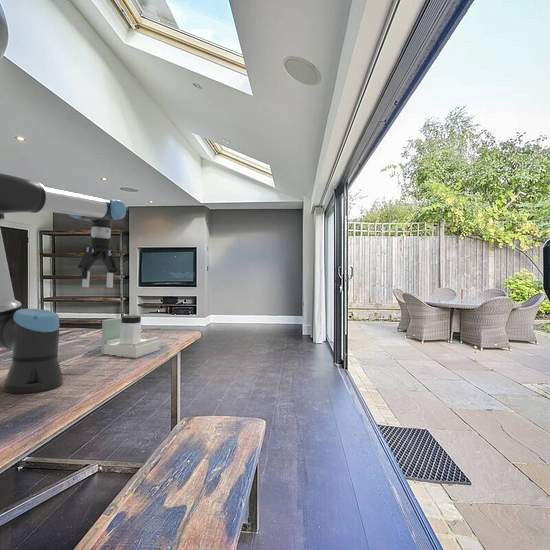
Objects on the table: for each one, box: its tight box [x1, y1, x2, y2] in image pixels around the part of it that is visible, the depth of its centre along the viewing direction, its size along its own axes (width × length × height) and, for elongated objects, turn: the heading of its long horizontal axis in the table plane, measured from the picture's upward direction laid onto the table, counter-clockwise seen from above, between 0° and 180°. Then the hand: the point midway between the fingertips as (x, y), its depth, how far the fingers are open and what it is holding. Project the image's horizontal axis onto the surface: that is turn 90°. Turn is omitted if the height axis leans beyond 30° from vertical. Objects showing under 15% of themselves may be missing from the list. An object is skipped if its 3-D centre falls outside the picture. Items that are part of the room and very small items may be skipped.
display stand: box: [100, 317, 161, 359], centre depth 159 cm, size 18×18×15 cm
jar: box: [120, 315, 142, 345], centre depth 157 cm, size 9×8×12 cm
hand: (97, 287), depth 148 cm, fingers open, 13 cm apart
